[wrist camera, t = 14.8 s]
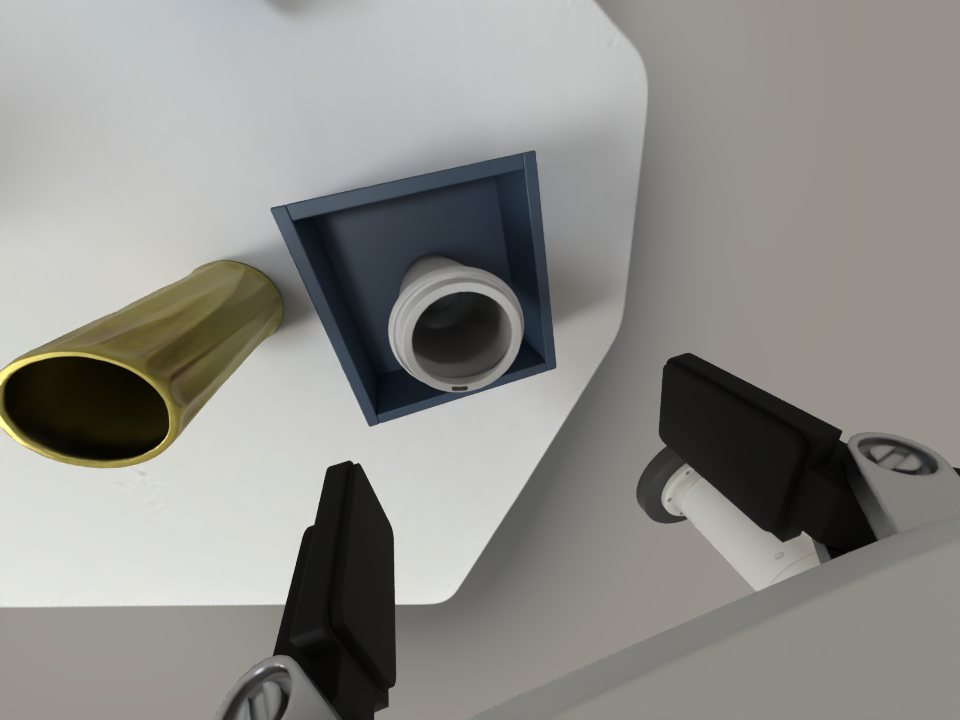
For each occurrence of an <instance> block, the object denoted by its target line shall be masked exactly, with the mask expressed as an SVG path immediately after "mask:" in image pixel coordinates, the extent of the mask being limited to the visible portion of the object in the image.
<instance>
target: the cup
mask: <svg viewBox="0 0 960 720" xmlns="http://www.w3.org/2000/svg"><path fill="white" fill-rule="evenodd" d="M523 331H524V320H523V313H522V309H521V306H520V304H519V301H518V299H517V297H516V296H515V294H514V292H513V291H512V290H511V289H510V287H509V286H508V285H507V284H506V283H505V282H503V281H502V280H501V279H500V278H498V277H497V276H495V275H493V274H491V273H489V272H487V271H484V270H481V269H478V268H473V267H466V266H464V265H462V264H460V263H458V262H457V261H454V260H452V259H449V258H446V257H444V256H441V255H438V254H426V255H422V256H420V257H418V258H416V259H415V260H413V261H412V262H411V263H410V264H409V265H408V267H407V268H406V270H405V273H404V276H403V280H402V283H401V286H400V293H399V298H398V299H397V301H396V303H395V305H394V307H393V309H392V312H391V315H390V319H389V326H388V334H389V341H390V345H391V348H392V351H393V353H394V355H395V357H396V359H397V360H398V362H399V363H400V364H401V365H402V367H403V368H404V369H405V370H406V371H407V372H408V373H409V374H410V375H412V376H414V377H415V378H417V379H418V380H420V381H421V382H424V383H426V384H427V385H429V386H431V387H433V388H436V389H438V390H443V391H447V392H467V391H472V390H476V389H479V388H482V387H484V386H486V385H488V384H490V383H492V382H493V381H495V380H496V379H498V378H499V377H500V376H501V375H503V374H504V373H505V372H506V371H507V370H508V368H509V367H510V366H511V364H512V363H513V362H514V360H515V358H516V356H517V354H518V351H519V348H520V344H521V341H522V337H523Z"/></svg>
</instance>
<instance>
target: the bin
mask: <svg viewBox="0 0 960 720" xmlns="http://www.w3.org/2000/svg"><path fill="white" fill-rule="evenodd" d="M271 212H272V214H273V216H274V219H275V221H276V223H277V225H278V227H279V230H280V232H281V234H282V236H283V238H284V241H285V243H286V245H287V247H288V249H289V252H290V254H291V256H292V258H293V260H294V263H295V265H296V267H297V269H298V271H299V274H300V276H301V278H302V280H303V282H304V285H305V287H306V289H307V291H308V293H309V295H310V298H311V300H312V302H313V304H314V306H315V309H316V311H317V313H318V315H319V317H320V320H321V322H322V324H323V326H324V328H325V331H326V333H327V335H328V337H329V339H330V342H331V344H332V346H333V348H334V350H335V353H336V355H337V357H338V359H339V361H340V364H341V366H342V368H343V370H344V372H345V375H346V377H347V379H348V381H349V383H350V385H351V388H352V390H353V392H354V394H355V396H356V399H357V401H358V403H359V405H360V407H361V410H362V412H363V414H364V416H365V418H366V421H367V423H368V425H369V426H374V425H377V424H379V423H383V422H386V421H390V420H393V419H396V418H399V417H402V416H405V415H409V414H412V413H415V412H418V411H421V410H424V409H428V408H431V407H434V406H437V405H440V404H444V403H447V402H450V401H453V400H456V399H459V398H463V397H466V396H469V395H472V394H475V393H479V392H482V391H485V390H488V389H491V388H494V387H498V386H501V385H504V384H507V383H510V382H513V381H517V380H520V379H523V378H526V377H529V376H533V375H536V374H539V373H542V372H545V371H549V370H552V369H555V368H556V358H555V347H554V337H553V326H552V316H551V306H550V295H549V285H548V275H547V264H546V254H545V244H544V233H543V223H542V213H541V202H540V192H539V181H538V171H537V161H536V151H529V152H524V153H520V154H515V155H511V156H506V157H502V158H497V159H492V160H488V161H483V162H479V163H474V164H469V165H465V166H460V167H456V168H451V169H447V170H442V171H437V172H433V173H428V174H424V175H419V176H414V177H410V178H405V179H401V180H396V181H392V182H387V183H382V184H378V185H373V186H369V187H364V188H359V189H355V190H350V191H346V192H341V193H336V194H332V195H327V196H323V197H318V198H314V199H309V200H304V201H300V202H295V203H291V204H287V205H282V206H277V207H272V208H271ZM426 254H438V255H441V256H444V257H446V258H449V259H452V260H454V261H457V262H458V263H460V264H462V265H464V266H466V267H473V268H478V269H481V270H484V271H487V272H489V273H491V274H493V275H495V276H497V277H498V278H500V279H501V280H502V281H503V282H505V283H506V284H507V285H508V286H509V287H510V289H511V290H512V291H513V292H514V294H515V296H516V297H517V299H518V301H519V304H520V306H521V309H522V313H523V320H524V331H523V337H522V341H521V344H520V348H519V351H518V354H517V356H516V358H515V360H514V362H513V363H512V364H511V366H510V367H509V368H508V370H507V371H506V372H505V373H504V374H503V375H501V376H500V377H499V378H498V379H496V380H495V381H493V382H492V383H490V384H488V385H486V386H484V387H482V388H479V389H476V390H472V391H467V392H447V391H443V390H438V389H436V388H433V387H431V386H429V385H427V384H426V383H424V382H421V381H420V380H418V379H417V378H415V377H414V376H412V375H410V374H409V373H408V372H407V371H406V370H405V369H404V368H403V367H402V365H401V364H400V363H399V362H398V360H397V359H396V357H395V355H394V353H393V351H392V348H391V345H390V341H389V334H388V326H389V319H390V315H391V312H392V309H393V307H394V305H395V303H396V301H397V299H398V298H399V293H400V286H401V283H402V280H403V276H404V273H405V270H406V268H407V267H408V265H409V264H410V263H411V262H412V261H413V260H415V259H416V258H418V257H420V256H422V255H426Z"/></svg>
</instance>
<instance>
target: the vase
mask: <svg viewBox="0 0 960 720" xmlns="http://www.w3.org/2000/svg"><path fill="white" fill-rule="evenodd" d="M282 316H283V304H282V300H281V297H280V295H279V293H278V291H277V289H276V288H275V286H274V285H273V284H272V283H271V281H270V280H269V279H268V278H266V277H265V276H264V275H263V274H261V273H260V272H258V271H257V270H255V269H253V268H251V267H249V266H247V265H244V264H241V263H236V262H230V261H216V262H211V263H208V264H205V265H202V266H200V267H198V268H197V269H195V270H194V271H193V272H192V273H191V274H190V275H188V276H187V277H185V278H183V279H181V280H179V281H177V282H175V283H173V284H171V285H168V286H166V287H163V288H161V289H159V290H157V291H155V292H153V293H151V294H149V295H147V296H145V297H143V298H141V299H139V300H137V301H135V302H133V303H132V304H130V305H128V306H126V307H124V308H122V309H121V310H119V311H117V312H114V313H112V314H109V315H107V316H104V317H102V318H100V319H97V320H95V321H93V322H91V323H89V324H87V325H85V326H82V327H80V328H78V329H76V330H74V331H72V332H70V333H67V334H65V335H63V336H61V337H59V338H57V339H55V340H53V341H51V342H49V343H47V344H45V345H42V346H40V347H38V348H36V349H34V350H31V351H29V352H27V353H25V354H24V355H22V356H20V357H18V358H16V359H15V360H13V361H12V362H11V363H10V364H8V365H7V366H6V367H5V368H3V369H2V370H1V371H0V427H1V428H2V429H3V430H4V431H5V432H6V433H7V434H8V435H9V436H10V437H12V438H13V439H14V440H15V441H17V442H18V443H20V444H21V445H23V446H25V447H26V448H28V449H30V450H32V451H34V452H36V453H38V454H40V455H42V456H44V457H47V458H50V459H53V460H55V461H59V462H63V463H66V464H72V465H77V466H84V467H93V468H119V467H126V466H131V465H135V464H139V463H142V462H145V461H148V460H150V459H152V458H154V457H156V456H158V455H159V454H161V453H162V452H163V451H165V450H166V449H167V448H168V447H169V446H170V445H171V444H172V443H173V442H174V441H175V440H176V439H177V438H178V436H179V435H180V434H181V433H182V432H183V430H184V429H185V428H186V427H187V425H188V424H189V423H190V422H191V420H192V419H193V418H194V417H195V416H196V414H197V413H198V412H199V411H200V410H201V409H202V407H203V406H204V405H205V404H206V403H207V402H208V400H209V399H210V398H211V397H212V396H213V395H214V394H215V393H216V392H217V390H218V389H219V388H220V387H221V386H222V384H223V383H224V382H225V381H226V380H227V379H228V378H229V377H230V376H231V375H232V374H233V373H234V372H235V371H236V370H237V368H238V367H239V366H240V365H241V364H242V363H243V361H244V360H245V359H246V358H247V357H248V356H249V355H250V354H251V353H252V352H253V350H254V349H255V348H256V347H257V346H258V345H259V344H260V343H261V342H262V341H263V340H264V339H265V338H267V337H268V336H270V335H271V334H272V333H273V332H275V331H276V329H277V328H278V327H279V325H280V323H281V320H282Z"/></svg>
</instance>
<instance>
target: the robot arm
mask: <svg viewBox="0 0 960 720" xmlns="http://www.w3.org/2000/svg"><path fill="white" fill-rule="evenodd" d="M841 433H842V430H840V429H838V428H836V427H834V426H832V425H830V424H828V423H826V422H824V421H822V420H820V419H818V418H816V417H814V416H812V415H810V414H809V413H807V412H805V411H803V410H801V409H799V408H797V407H795V406H793V405H791V404H789V403H787V402H785V401H783V400H781V399H779V398H777V397H775V396H773V395H771V394H770V393H768V392H766V391H763V390H762V389H760V388H758V387H756V386H754V385H752V384H750V383H748V382H746V381H744V380H742V379H740V378H738V377H736V376H734V375H732V374H730V373H728V372H727V371H724V370H723V369H720V368H719V367H717V366H715V365H713V364H711V363H709V362H707V361H705V360H703V359H701V358H699V357H697V356H695V355H693V354H691V353H685V354H682V355H679V356H676V357H673V358H670V359H668V361H667V363H666V365H665V366H664V368H663V378H662V392H661V406H660V422H659V435H660V438H661V439H662V441H663V442H664V443H665V444H666V445H667V446H668V447H669V448H670V449H671V450H673V451H674V452H675V453H676V454H677V455H678V456H679V457H681V458H682V459H683V460H684V461H685V462H686V463H685V464H684V465H682V466H681V467H680V468H679V469H678V470H677V471H676V472H675V473H674V474H673V475H672V476H671V477H670V478H669V480H668V481H667V483H666V485H665V486H664V489H663V491H662V497H661V501H662V505H663V507H664V508H665V509H666V510H667V511H668V512H669V513H670V514H672V515H675V516H686V517H687V518H688V519H689V520H690V521H691V522H692V523H693V525H694V526H695V527H696V528H697V529H698V530H699V531H700V532H701V533H702V534H703V535H704V536H705V537H706V538H707V539H708V541H710V543H711V544H712V545H713V546H714V547H715V548H716V549H717V550H718V551H719V552H720V553H721V554H722V556H723V557H724V558H725V559H726V560H727V561H728V562H729V563H730V564H731V565H732V566H733V567H734V568H735V569H736V570H737V571H738V573H739V574H740V575H741V576H742V577H743V578H744V579H745V580H746V581H747V582H748V583H749V584H750V585H751V586H752V587H753V588H754V590H755V591H756V592H755V593H752V594H750V595H748V596H745V597H743V598H741V599H738V600H736V601H734V602H731V603H729V604H727V605H725V606H722V607H720V608H717V609H716V610H713V611H711V612H708V613H706V614H704V615H701V616H699V617H697V618H694V619H692V620H690V621H687V622H685V623H683V624H680V625H678V626H676V627H674V628H671V629H669V630H667V631H664V632H662V633H660V634H657V635H655V636H653V637H650V638H648V639H646V640H643V641H641V642H639V643H637V644H634V645H632V646H630V647H627V648H625V649H623V650H620V651H618V652H616V653H614V654H611V655H609V656H607V657H605V658H602V659H600V660H598V661H596V662H594V663H591V664H589V665H586V666H584V667H582V668H579V669H577V670H575V671H573V672H570V673H568V674H566V675H563V676H561V677H559V678H557V679H554V680H552V681H550V682H548V683H545V684H543V685H541V686H538V687H536V688H534V689H532V690H529V691H527V692H525V693H522V694H520V695H518V696H516V697H513V698H511V699H509V700H507V701H504V702H502V703H500V704H498V705H496V706H494V707H492V708H489V709H487V710H485V711H483V712H481V713H479V714H476V715H474V716H472V717H470V718H468V719H466V720H960V469H959V468H953V467H951V466H950V464H949V463H948V462H947V461H946V460H945V459H944V458H943V457H941V456H940V455H939V454H938V453H936V452H935V451H933V450H931V449H930V448H928V447H926V446H924V445H922V444H920V443H917V442H915V441H912V440H910V439H906V438H903V437H900V436H896V435H891V434H885V433H875V432H866V433H859V434H856V435H854V436H852V437H850V439H849V441H848V443H847V444H846V443H844V442H842V441H840V440H839V438H840V436H841ZM803 531H804V532H805V533H807V534H808V535H809V536H810V537H811V538H810V537H809V536H808V535H807V534H805V533H804V532H803ZM395 647H396V643H395V586H394V537H393V531H392V527H391V525H390V522H389V520H388V518H387V516H386V514H385V512H384V510H383V508H382V506H381V504H380V502H379V500H378V498H377V496H376V494H375V492H374V490H373V488H372V486H371V484H370V482H369V480H368V478H367V476H366V474H365V472H364V470H363V468H362V466H361V465H360V464H359V463H357V464H353V463H352V462H351V461H346V462H343V463H340V464H337V465H333V466H330V467H328V468H327V471H326V475H325V480H324V484H323V488H322V493H321V497H320V502H319V506H318V511H317V515H316V520H315V524H314V525H313V526H310V527H308V528H307V529H306V530H305V532H304V535H303V538H302V542H301V546H300V550H299V554H298V558H297V562H296V566H295V570H294V574H293V578H292V582H291V586H290V590H289V594H288V598H287V601H286V606H285V609H284V614H283V618H282V622H281V625H280V629H279V634H278V637H277V642H276V646H275V649H274V653H273V657H269V658H266V659H265V660H263V661H261V662H260V663H258V664H256V665H255V666H253V667H252V668H251V669H250V670H249V671H248V672H246V674H244V675H243V676H242V677H241V678H240V679H239V680H238V681H237V683H236V684H235V685H234V686H233V688H232V689H231V690H230V691H229V693H228V694H227V695H226V697H225V699H224V701H223V702H222V704H221V705H220V707H219V709H218V711H217V713H216V715H215V718H214V720H374V713H375V712H377V711H379V710H381V709H384V708H387V707H388V705H389V704H388V703H389V701H388V699H389V697H388V689H389V688H391V687H393V686H394V685H395V682H396V649H395Z"/></svg>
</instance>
